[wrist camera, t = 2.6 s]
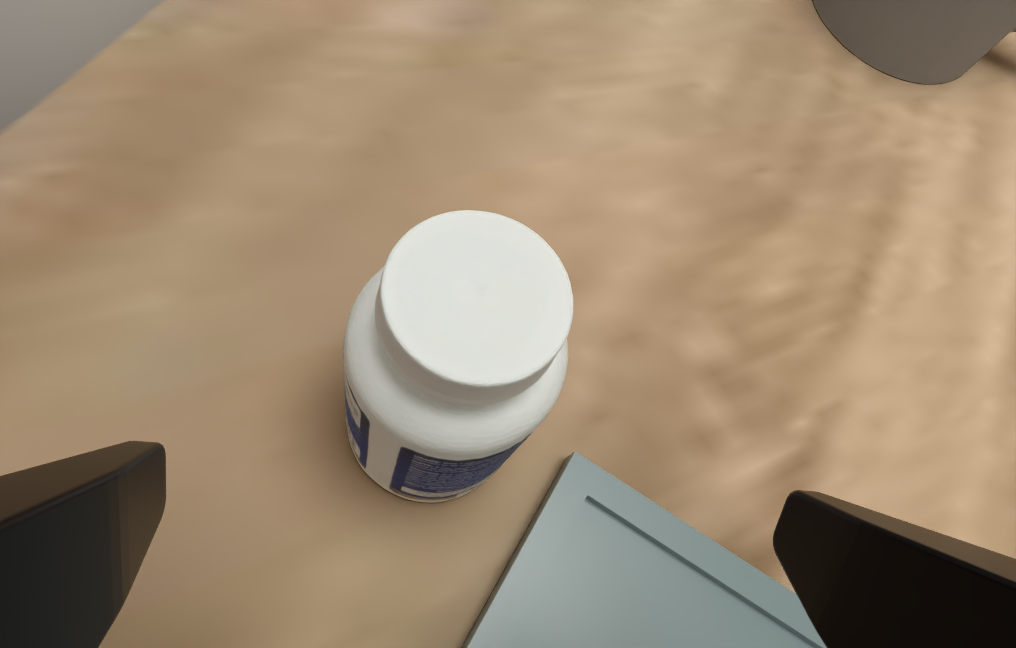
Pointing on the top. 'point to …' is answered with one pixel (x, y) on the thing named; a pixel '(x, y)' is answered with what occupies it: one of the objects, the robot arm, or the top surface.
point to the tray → (630, 580)
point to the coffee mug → (919, 33)
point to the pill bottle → (454, 353)
